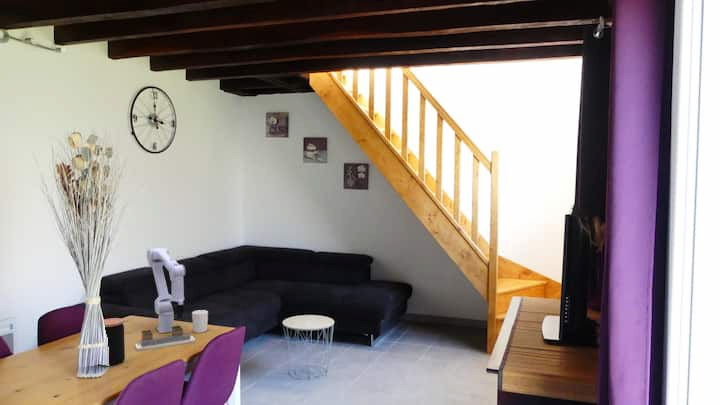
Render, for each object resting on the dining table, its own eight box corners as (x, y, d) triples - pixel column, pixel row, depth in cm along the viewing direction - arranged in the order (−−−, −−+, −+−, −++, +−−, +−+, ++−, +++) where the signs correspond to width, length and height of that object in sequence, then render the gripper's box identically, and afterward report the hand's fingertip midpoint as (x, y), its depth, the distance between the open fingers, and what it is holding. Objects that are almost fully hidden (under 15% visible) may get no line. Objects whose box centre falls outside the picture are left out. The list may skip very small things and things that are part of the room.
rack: (140, 341, 258) (140, 330, 257) (181, 335, 267) (180, 325, 267) (142, 345, 252) (142, 333, 252) (183, 338, 262) (183, 328, 262)
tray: (135, 347, 249) (135, 344, 249) (191, 338, 263) (191, 335, 263) (137, 351, 243) (137, 348, 243) (195, 342, 257) (195, 339, 257)
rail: (140, 341, 248) (141, 342, 245) (188, 333, 259) (190, 335, 256) (140, 347, 248) (141, 349, 245) (188, 339, 259) (190, 341, 256)
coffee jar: (93, 362, 228) (92, 321, 228) (118, 356, 236) (117, 316, 235) (103, 368, 221) (102, 326, 220) (129, 362, 229) (128, 321, 228)
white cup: (205, 333, 272) (205, 313, 271) (190, 333, 272) (189, 313, 271) (210, 328, 280) (209, 310, 279) (195, 328, 280) (195, 310, 279)
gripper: (166, 287, 269) (167, 314, 269) (172, 292, 256) (173, 320, 257) (180, 286, 272) (181, 312, 273) (187, 291, 260) (187, 318, 260)
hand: (178, 316), depth 265 cm, fingers open, 7 cm apart
